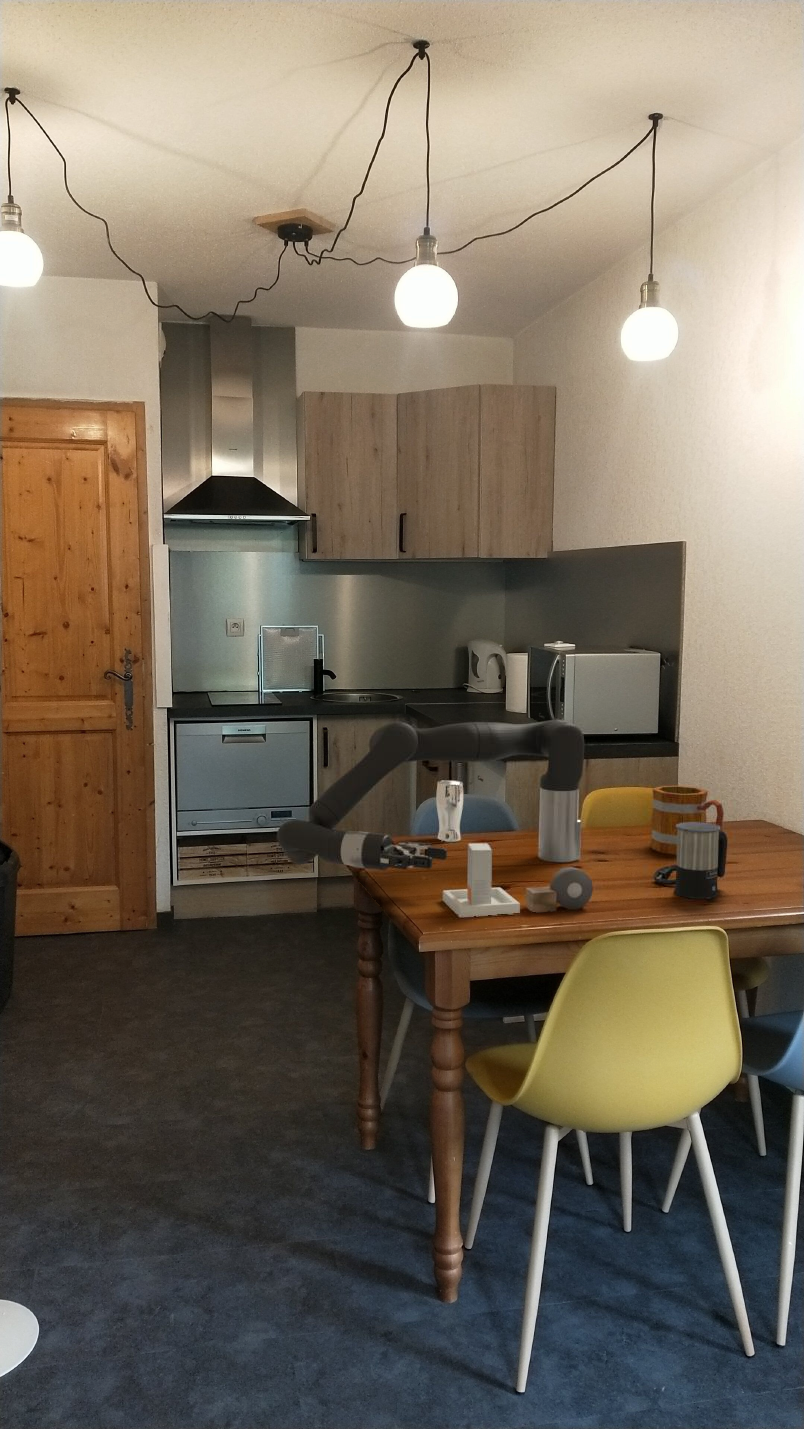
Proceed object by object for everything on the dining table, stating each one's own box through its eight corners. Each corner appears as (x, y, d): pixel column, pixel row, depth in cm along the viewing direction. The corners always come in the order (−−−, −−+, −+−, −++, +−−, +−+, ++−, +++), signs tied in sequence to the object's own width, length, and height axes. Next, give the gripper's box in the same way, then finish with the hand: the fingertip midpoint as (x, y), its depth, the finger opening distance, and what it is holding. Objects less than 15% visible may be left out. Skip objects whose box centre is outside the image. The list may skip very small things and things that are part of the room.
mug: (639, 847, 278) (641, 788, 276) (673, 840, 286) (675, 783, 284) (702, 862, 262) (705, 800, 261) (737, 855, 270) (740, 795, 269)
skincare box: (466, 900, 225) (467, 843, 224) (487, 900, 226) (488, 843, 224) (470, 908, 219) (471, 849, 218) (491, 908, 220) (492, 849, 218)
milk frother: (710, 902, 228) (713, 832, 226) (637, 891, 237) (640, 823, 235) (730, 887, 240) (733, 821, 238) (660, 877, 248) (662, 812, 247)
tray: (499, 897, 230) (499, 887, 230) (519, 913, 218) (519, 903, 218) (442, 900, 227) (442, 890, 227) (459, 917, 215) (460, 907, 215)
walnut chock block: (548, 905, 224) (549, 886, 224) (556, 911, 220) (556, 891, 220) (525, 907, 223) (526, 887, 223) (532, 912, 219) (533, 893, 219)
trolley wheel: (585, 903, 226) (586, 865, 225) (592, 908, 222) (593, 870, 222) (549, 906, 224) (550, 867, 223) (555, 910, 221) (556, 872, 220)
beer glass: (465, 837, 287) (466, 781, 285) (458, 843, 280) (459, 785, 278) (440, 835, 289) (441, 779, 287) (432, 841, 282) (433, 783, 281)
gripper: (353, 839, 224) (427, 847, 218) (380, 826, 237) (451, 834, 231) (352, 875, 225) (426, 884, 219) (380, 860, 238) (450, 869, 232)
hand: (439, 858), depth 225 cm, fingers open, 8 cm apart
